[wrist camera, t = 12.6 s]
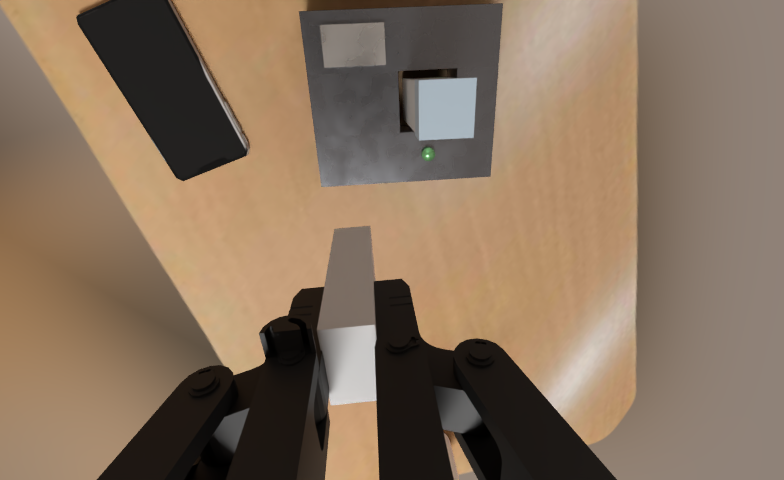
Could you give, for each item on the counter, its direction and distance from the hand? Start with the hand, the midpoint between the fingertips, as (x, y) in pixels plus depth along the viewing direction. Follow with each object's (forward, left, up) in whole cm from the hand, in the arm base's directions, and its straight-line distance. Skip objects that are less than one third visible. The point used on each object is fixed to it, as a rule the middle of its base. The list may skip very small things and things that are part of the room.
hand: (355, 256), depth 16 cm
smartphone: (-6, -17, -24) cm, 30 cm away
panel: (-5, +4, -23) cm, 24 cm away
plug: (-5, +6, -23) cm, 25 cm away
